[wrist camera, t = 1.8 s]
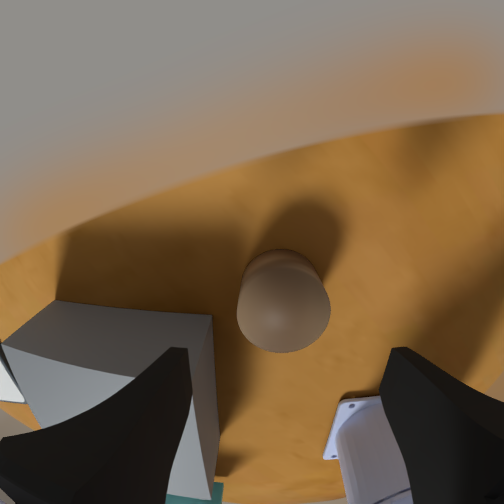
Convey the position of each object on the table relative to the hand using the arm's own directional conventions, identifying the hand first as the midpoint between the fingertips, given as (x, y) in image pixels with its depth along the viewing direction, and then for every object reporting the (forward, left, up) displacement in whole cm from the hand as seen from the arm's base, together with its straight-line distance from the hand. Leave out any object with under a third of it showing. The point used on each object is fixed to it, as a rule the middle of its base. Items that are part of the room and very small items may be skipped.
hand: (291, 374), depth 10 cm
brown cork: (0, 0, -8) cm, 8 cm away
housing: (+10, +8, -8) cm, 15 cm away
